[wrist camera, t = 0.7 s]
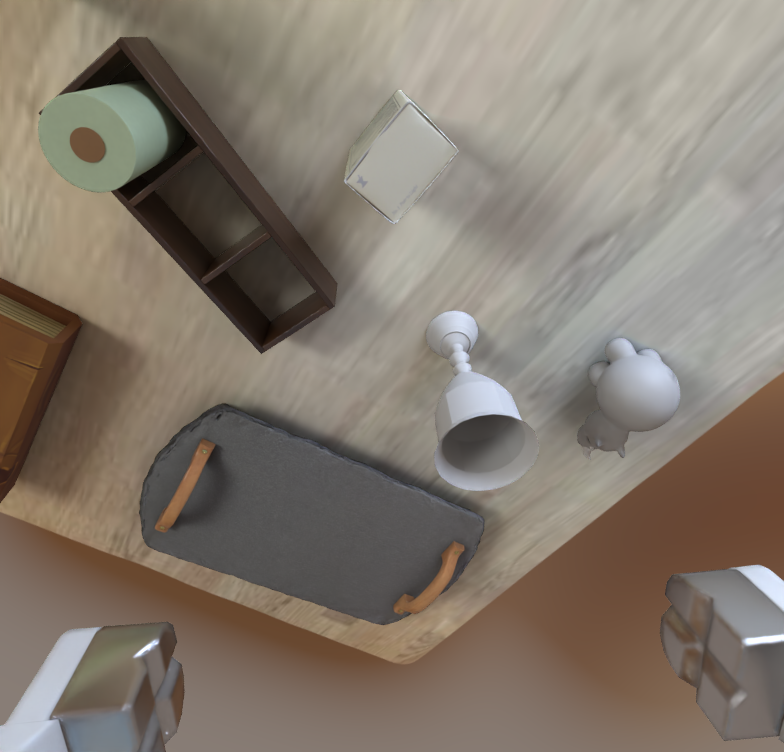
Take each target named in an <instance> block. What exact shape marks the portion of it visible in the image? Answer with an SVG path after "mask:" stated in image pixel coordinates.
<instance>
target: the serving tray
mask: <svg viewBox="0 0 784 752" xmlns="http://www.w3.org/2000/svg"><path fill="white" fill-rule="evenodd" d="M139 514H140V517H141V525H142V536H143V539H144V541H145V543H146V545H147V546H148V547H150V548H152V549H154V550H157V551H159V552H162V553H166V554H169V555H172V556H175V557H177V558H179V559H182V560H185V561H188V562H193V563H195V564H198V565H201V566H204V567H207V568H209V569H212V570H216V571H218V572H222V573H225V574H228V575H234V576H235V577H237V578H240V579H243V580H246V581H248V582H250V583H254V584H257V585H260V586H264V587H267V588H269V589H272V590H275V591H279V592H282V593H284V594H286V595H290V596H294V597H297V598H300V599H302V600H306V601H310V602H313V603H315V604H318V605H321V606H324V607H327V608H329V609H332V610H335V611H339V612H341V613H345V614H348V615H351V616H353V617H356V618H359V619H363V620H366V621H369V622H371V623H375V624H380V625H386V624H390V623H394V622H397V621H399V620H401V619H403V618H405V617H407V616H409V615H410V614H412V613H413V614H416V613H419V612H421V611H422V610H424V609H425V608H426V607H428V606H429V605H430V604H431V603H432V602H433V601H434V600H435V599H436V598H437V597H438V596H439V595H441V594H442V593H444V592H445V591H447V590H448V589H449V587H450V586H451V585H452V584H453V583H454V582H456V581H457V579H458V578H459V576H460V575H461V574H462V573H463V571H464V569H465V567H466V566H467V564H468V563H469V562H470V560H471V559H472V557H473V556H474V554H475V552H476V550H477V546H478V544H479V543H480V537H481V535H482V533H483V531H484V521H485V520H484V519H483V517H481V516H480V515H478V514H476V513H474V512H472V511H470V510H469V509H465V508H462V507H460V506H458V505H455V504H453V503H451V502H449V501H446V500H444V499H442V498H440V497H437V496H435V495H433V494H431V493H429V492H427V491H425V490H423V489H421V488H419V487H417V486H413V485H410V484H407V483H404V482H402V481H398V480H396V479H393V478H391V477H389V476H388V475H386V474H384V473H382V472H381V471H379V470H377V469H375V468H372V467H370V466H368V465H367V464H365V463H362V462H358V461H355V460H352V459H350V458H348V457H346V456H343V455H340V454H338V453H335V452H333V451H331V450H330V449H328V448H327V447H324V446H321V445H320V444H319V443H317V442H316V441H313V440H310V439H307V438H301V437H298V436H296V435H291V434H289V433H288V432H286V431H285V430H283V429H281V428H276V427H274V426H272V425H271V424H269V423H266V422H264V421H262V420H259V419H257V418H254V417H252V416H250V415H248V414H246V413H243V412H241V411H239V410H236V409H234V408H231V407H230V406H229V405H227V404H220V405H217V406H215V407H213V408H211V409H209V410H207V411H206V412H204V413H203V414H202V415H201V416H200V417H198V418H197V419H196V420H194V421H193V422H191V423H190V424H188V425H186V426H184V427H183V428H182V429H181V430H180V432H178V433H177V434H176V435H174V436H173V438H172V439H171V440H170V442H169V444H168V445H167V446H166V447H164V448H163V449H162V450H161V451H160V452H159V453H158V454H157V456H156V457H155V461H154V463H153V464H152V466H151V468H150V470H149V472H148V475H147V477H146V478H145V479H144V482H143V490H142V493H141V500H140V511H139Z"/></svg>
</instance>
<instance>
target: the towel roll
mask: <svg viewBox="0 0 784 752" xmlns="http://www.w3.org/2000/svg"><path fill="white" fill-rule="evenodd" d="M38 134H39V140H40V144H41V147H42V150H43V152H44V154H45V156H46V158H47V160H48V161H49V163H50V164H51V166H52V167H53V168H54V169H55V170H56V172H57V173H58V174H60V175H61V176H62V177H63V178H64V179H65V180H67V181H68V182H70V183H71V184H73V185H75V186H77V187H79V188H81V189H84V190H87V191H91V192H110V191H113V190H116V189H118V188H120V187H122V186H123V185H125V184H126V183H128V182H130V181H131V180H133V179H135V178H136V177H138V176H139V175H141V174H143V173H144V172H146V171H148V170H149V169H151V168H152V167H154V166H156V165H157V164H159V163H161V162H162V161H164V160H165V159H167V158H169V157H170V156H172V155H173V154H175V153H176V152H177V151H178V150H179V149H180V148H181V146H182V144H183V142H184V139H185V135H186V129H185V128H184V127H183V125H182V124H181V123H180V122H179V120H178V119H177V118H176V117H175V115H174V114H173V113H172V112H171V110H170V109H169V108H168V107H167V105H166V104H165V103H164V102H163V100H162V99H161V98H160V97H159V95H158V94H157V93H156V92H155V90H154V89H153V88H152V87H151V85H150V84H149V83H148V82H147V81H145V80H135V81H129V82H124V83H119V84H114V85H109V86H103V87H98V88H93V89H88V90H82V91H77V92H72V93H67V94H63V95H60V96H58V97H56V98H54V99H52V100H51V101H50V102H49V103H48V104H47V105H46V106H45V108H44V109H43V111H42V113H41V116H40V119H39V126H38Z"/></svg>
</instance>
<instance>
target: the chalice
mask: <svg viewBox="0 0 784 752" xmlns="http://www.w3.org/2000/svg"><path fill="white" fill-rule="evenodd" d="M477 337H478V327H477V324H476V322H475V320H474V319H473V318H472V317H471V316H470V315H468V314H466V313H464V312H460V311H448V312H445V313H442V314H440V315H438V316H437V317H436V318H434V319H433V320H432V322H431V323H430V324H429V326H428V329H427V332H426V340H427V343H428V345H429V347H430V348H431V349H432V350H433V351H434V352H435V353H437V354H438V355H440V356H441V357H443V358H445V359H449V362H450V364H451V365H452V366H453V367H454V369H453V373H454V375H455V377H454V378H453V379H452V380H451V381H450V383H449V384H448V385H447V387H446V388H445V390H444V391H443V392H442V395H441V398H440V400H439V403H438V405H437V408H436V411H435V425H436V430H437V436H438V442H439V443H438V446H437V448H436V451H435V453H434V456H435V467H436V469H437V470H438V472H439V474H440V476H441V477H442V478H443V479H445V480H446V481H447V482H448V483H450V484H451V485H454V486H456V487H459V488H462V489H465V490H474V491H483V490H492V489H496V488H500V487H503V486H506V485H509V484H511V483H512V482H514V481H516V480H517V479H519V478H521V477H522V476H523V475H524V474H525V473H526V472H527V471H528V470H529V469H530V468H531V467H532V466H533V464H534V462H535V460H536V458H537V456H538V451H539V441H538V439H537V436H536V433H535V431H534V430H533V429H532V428H531V427H530V426H529V425H528V424H527V423H525V422H524V421H522V420H521V417H520V415H519V413H518V410H517V408H516V405H515V403H514V400H513V398H512V395H511V394H510V393H509V392H508V391H507V390H506V389H505V388H504V387H502V386H501V385H499V384H498V383H497V382H495V381H494V380H492V379H490V378H488V377H486V376H483V375H481V374H478V373H476V372H472V367H471V365H470V364H468V362H469V355H468V354H469V353H470V351H471V350H472V349H473V346H474V344H475V343H476V340H477Z"/></svg>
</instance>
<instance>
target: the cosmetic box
mask: <svg viewBox="0 0 784 752" xmlns="http://www.w3.org/2000/svg"><path fill="white" fill-rule="evenodd" d="M457 153H458V149H457V148H456V147H455V145H454V144H453V143H452V142H451V141H450V140H449V139H448V138H447V137H446V136H445V135H444V134H443V133H442V131H441V130H440V129H439V128H438V127H437V126H436V125H435V124H434V123H433V122H432V121H431V120H430V119H429V118H428V117H427V116H426V115H425V114H424V113H423V112H422V111H421V110H420V109H419V108H418V107H417V106H416V105H415V104H414V103H413V102H412V101H411V100H410V99H409V98H408V97H407V96H406V95H405V94H404V93H403V92H402V91H401V90H398V91H396V93H395V94H394V95H393V96H392V97H391V99H390V100H389V101H388V102H387V103H386V104H385V106H384V107H383V108H382V109H381V111H380V112H379V113H378V114H377V115H376V117H375V118H374V119H373V120H372V122H371V123H370V124H369V125H368V127H367V128H366V129H365V131H364V132H363V133H362V134H361V136H360V137H359V138H358V140H357V141H356V142H355V144H354V145H353V146H352V147H351V149H350V150H349V155H348V160H347V166H346V172H345V177H344V183H346V184H347V185H348V186H349V187H350V188H351V189H352V190H353V191H354V192H356V193H357V194H358V195H359V196H360V197H361V198H362V199H363V200H365V201H366V202H367V203H368V204H369V205H370V206H371V207H373V208H374V209H375V210H376V211H377V212H378V213H380V214H381V215H382V216H383V217H385V218H386V219H387V220H388V221H390V222H391V223H392V224H396V223H397V222H398V221H399V220H400V219H401V218H402V217H403V215H404V214H405V213H406V212H407V211H408V210H409V209H410V208H411V207H412V206H413V205H414V204H415V202H416V201H417V200H418V199H419V198H420V197H421V196H422V195H423V194H424V192H425V191H426V190H427V189H428V188H429V187H430V185H431V184H432V183H433V182H434V181H435V180H436V178H437V177H438V176H439V175H440V174H441V173H442V171H443V170H444V169H445V168H446V166H447V165H448V164H449V163H450V162H451V161H452V159H453V158H454V157H455V156H456V154H457Z"/></svg>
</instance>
